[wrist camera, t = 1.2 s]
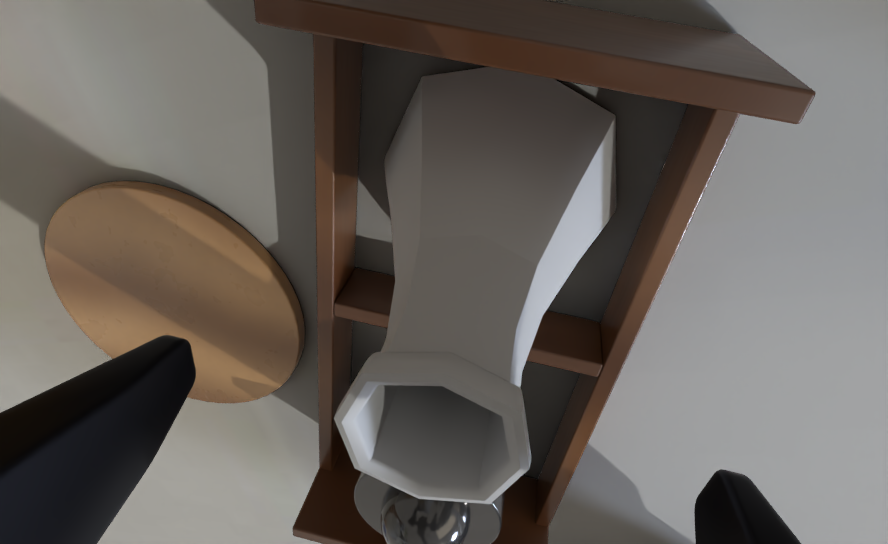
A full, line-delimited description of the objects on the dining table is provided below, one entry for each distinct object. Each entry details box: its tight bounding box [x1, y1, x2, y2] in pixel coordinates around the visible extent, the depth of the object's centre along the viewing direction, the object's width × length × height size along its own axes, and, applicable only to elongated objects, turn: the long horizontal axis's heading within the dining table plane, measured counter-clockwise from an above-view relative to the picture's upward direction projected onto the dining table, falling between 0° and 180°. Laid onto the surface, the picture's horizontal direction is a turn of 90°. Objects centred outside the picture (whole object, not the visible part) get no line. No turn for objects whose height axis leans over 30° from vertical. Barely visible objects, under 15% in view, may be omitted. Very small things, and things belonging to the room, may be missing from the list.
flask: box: [334, 67, 616, 504], centre depth 12 cm, size 7×7×10 cm
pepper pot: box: [354, 472, 506, 544], centre depth 19 cm, size 5×5×7 cm
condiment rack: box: [254, 0, 815, 544], centre depth 17 cm, size 20×10×5 cm, turn 173°
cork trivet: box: [45, 181, 305, 403], centre depth 22 cm, size 11×11×1 cm
